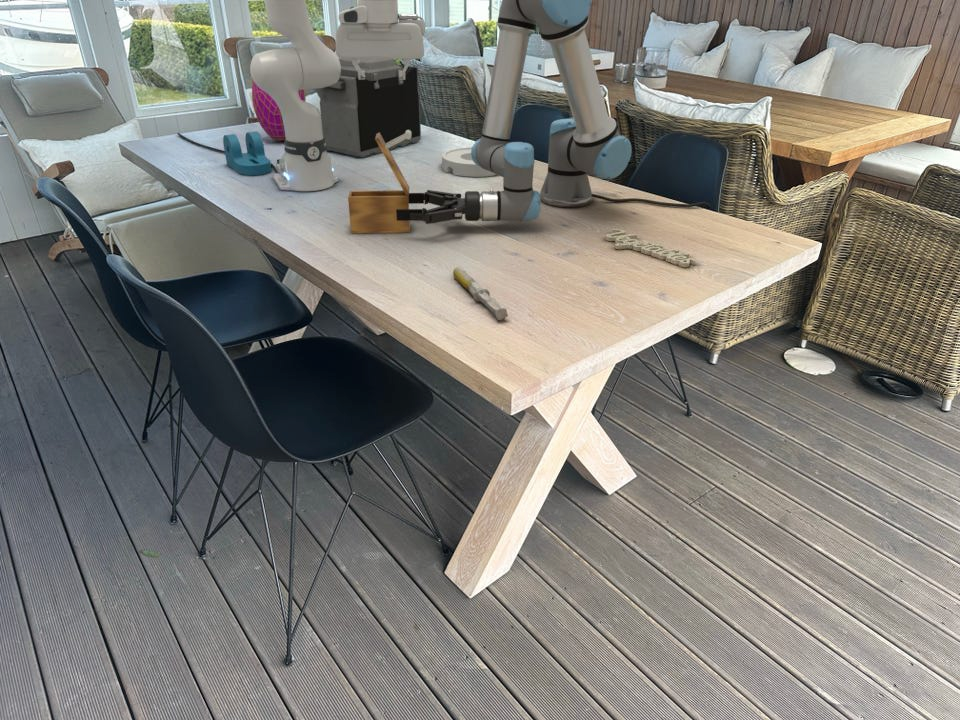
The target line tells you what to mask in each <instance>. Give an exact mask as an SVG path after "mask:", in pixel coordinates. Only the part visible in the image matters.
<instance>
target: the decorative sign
mask: <svg viewBox="0 0 960 720" xmlns="http://www.w3.org/2000/svg"><path fill="white" fill-rule="evenodd" d="M611 230H612V231H611V233H608V234H606V236H605V240H606V241H608V242H614V243H615V244H614V249H615V250H623V249H624V250H625V249H628V250H631V249H632V250H633V251H637V252H640V253H642V254H645V255H649V256H651V257H653V258H658V259H659V260H665V262H666V263H671V264H673V265H678V266H679V267H681V268H689V267H690V264H691V265H693V266H695V265H696V258H692V257H690V253H689V252H687V251H685V252H683V251H682V252H680V249H679V248H672V249H665V248H664V246H663V245H661V244H660V243H654V242H652V241H649V242H643V241H641V240H638V234H637V233H628V234H626V231H625V230H623V229H619V228H612V229H611Z"/></svg>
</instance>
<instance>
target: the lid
mask: <svg viewBox="0 0 960 720" xmlns="http://www.w3.org/2000/svg"><path fill="white" fill-rule="evenodd" d="M411 135H412V132H411V131H410V130H406V132H405V134H403V135H401V136H399V137H397V138H395V139H393V140H391V141H390V142H388V143H385V141H384V140H383V138H382V136H381V134H380V132H379V133H377V134H376V137H375V140H376V142H377V143H378V145H379V147H380V149H381V151H382V152H381V153H382V154H383V156H384V158H385V159H386V162H387V163H388V165H389V167H390V169H391V171H392V172H393V174H394V176H395V178H396V179H397V182H398V183H399V185H400V187H401V189H402V190H404V192H405V194H406V195H408V194H409V193H410V191H411V188H410V185H409V184H408V182H407V180H406V178H405V176H404V175H403V173H402V170H401V168H400V166H399V165H398V163H397V162H396V159H395V158H394V156H393V154H392V153H391V150H389V149H388V148H389V147H391V146H393V145H395V144H397V143H399V142H401V141H403V140H405V139H411Z"/></svg>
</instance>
